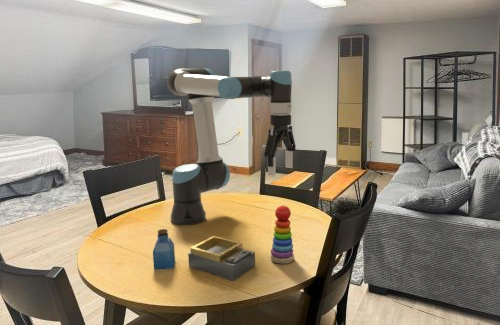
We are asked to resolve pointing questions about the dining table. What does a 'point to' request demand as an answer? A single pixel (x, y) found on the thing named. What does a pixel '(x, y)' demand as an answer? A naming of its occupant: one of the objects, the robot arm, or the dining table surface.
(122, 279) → the dining table surface
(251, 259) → the gray gold-framed box
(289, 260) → the stacking toy
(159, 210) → the dining table surface
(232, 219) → the dining table surface
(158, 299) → the dining table surface
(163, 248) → the perfume bottle
